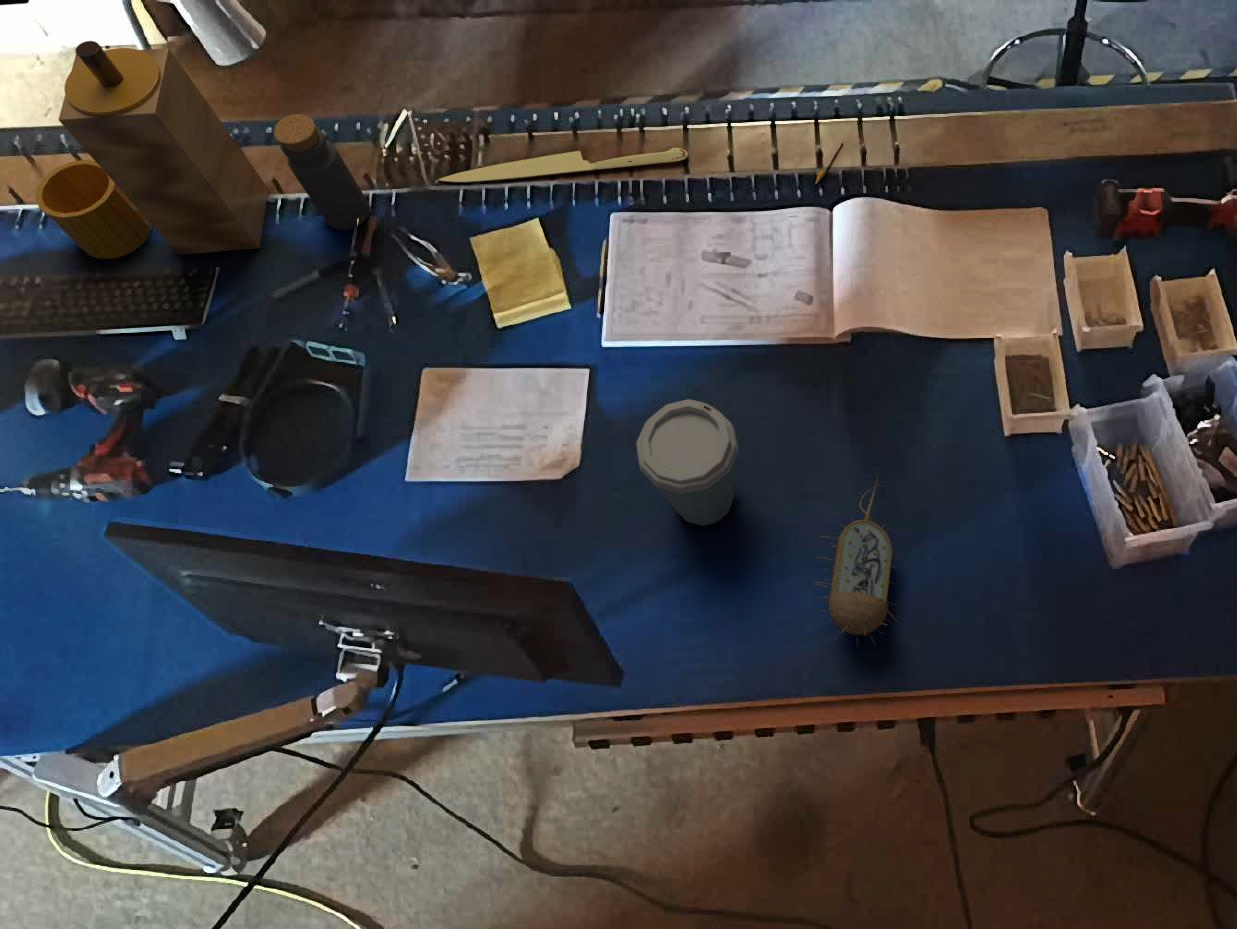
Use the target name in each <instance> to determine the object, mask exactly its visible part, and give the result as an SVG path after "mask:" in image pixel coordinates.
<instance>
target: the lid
mask: <svg viewBox="0 0 1237 929" xmlns="http://www.w3.org/2000/svg"><path fill="white" fill-rule="evenodd" d="M141 50H142V49H137V48H132V47H115V48H109V49H105V50H104V49H103V47H102V46H101V45H100V44H99V43H98V42H97V41H95V40H85V41H83V42H81V43H79V44H77V46H76V48H75V55H76V54H77V55H78V57H79V58H80V59H81V60H82V62H80V63H79V64H78V65H77V66H76V67H75V68H74V69H73V70H72V69H71V71H70V72H69V74H68V76H67V77H66V80H65V82H64V96H65V95H66V98H67V99H68V101H69V102H70V103H71V104H72V105H73V107H75V108H76V109H77V110H79V111H81V112H84V113H86V114H90V115H97V116H107V115H115V114H119V113H123V112H126V111H129V110H131V109H133V108H135V107H137V106H139V105H140V104H142V103H143V102H145V101H146V100H147V99H148V98H150V97H151V96H152V95H153V93H154V92H155V91H156V89H157V87H158V86H159V83H160V80H161V71H160V67H159V65H158V64H157V62H156V61H155V59H154V58H153V57H152V56H150V55H149V54H147V53H145V52H143V51H141Z"/></svg>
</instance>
